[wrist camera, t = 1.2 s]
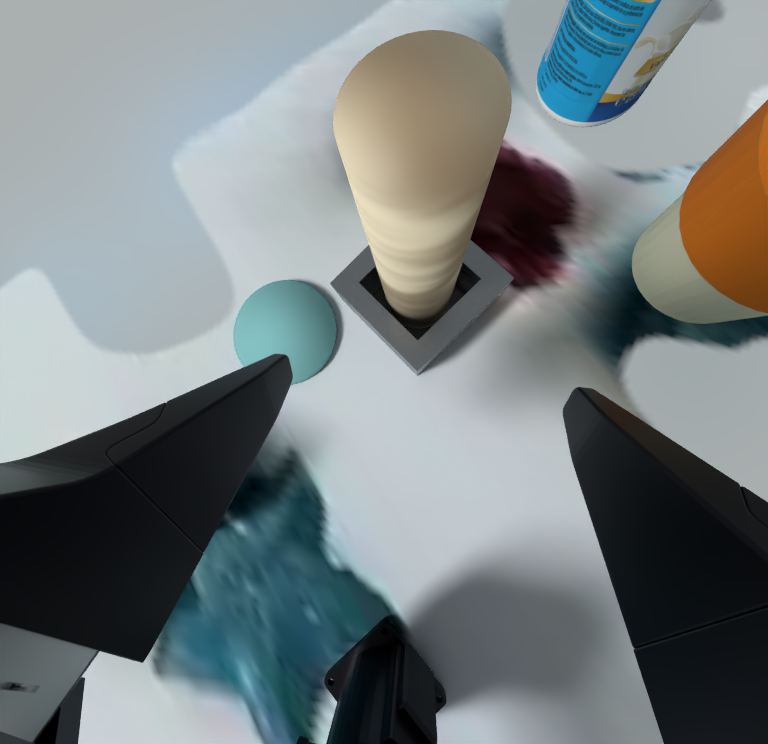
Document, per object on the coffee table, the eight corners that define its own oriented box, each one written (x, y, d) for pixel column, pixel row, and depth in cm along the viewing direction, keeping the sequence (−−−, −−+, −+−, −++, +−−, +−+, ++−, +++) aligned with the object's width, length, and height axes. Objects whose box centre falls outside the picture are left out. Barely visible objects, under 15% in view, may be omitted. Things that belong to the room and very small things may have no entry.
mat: (282, 407, 23) (278, 407, 23) (218, 333, 24) (213, 332, 24) (358, 332, 23) (356, 331, 22) (290, 262, 24) (287, 259, 24)
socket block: (417, 375, 22) (417, 371, 19) (343, 300, 23) (330, 283, 20) (499, 296, 22) (514, 277, 18) (419, 225, 23) (419, 195, 20)
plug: (417, 341, 22) (417, 227, 7) (375, 299, 23) (299, 121, 8) (462, 297, 22) (552, 94, 7) (418, 257, 23) (420, -1, 8)
